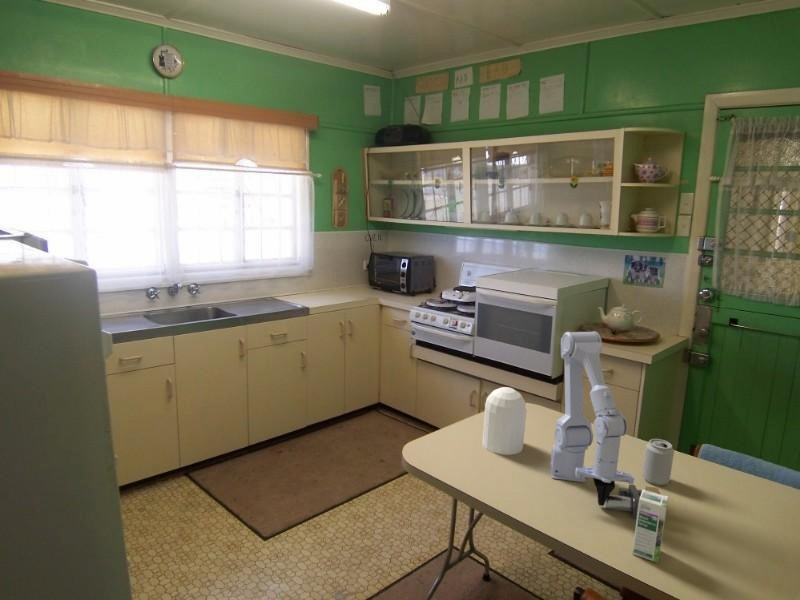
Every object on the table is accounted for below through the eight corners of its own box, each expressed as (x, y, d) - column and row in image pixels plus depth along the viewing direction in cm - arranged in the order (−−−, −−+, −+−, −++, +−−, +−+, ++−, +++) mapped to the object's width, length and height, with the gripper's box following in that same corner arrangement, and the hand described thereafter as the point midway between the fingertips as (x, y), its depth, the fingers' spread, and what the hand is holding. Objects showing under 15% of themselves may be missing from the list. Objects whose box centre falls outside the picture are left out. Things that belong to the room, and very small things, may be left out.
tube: (607, 511, 145) (608, 498, 144) (604, 503, 148) (606, 491, 147) (655, 518, 142) (656, 505, 142) (651, 509, 146) (653, 497, 145)
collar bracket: (625, 517, 142) (628, 498, 141) (617, 497, 152) (620, 478, 151) (666, 523, 140) (669, 503, 139) (655, 502, 150) (658, 483, 149)
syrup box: (631, 554, 128) (638, 499, 125) (635, 541, 133) (642, 487, 130) (657, 563, 125) (666, 507, 122) (660, 549, 130) (668, 495, 127)
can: (672, 488, 157) (678, 450, 155) (644, 484, 159) (650, 447, 156) (665, 475, 164) (670, 438, 162) (639, 472, 166) (644, 435, 163)
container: (474, 445, 179) (478, 388, 175) (494, 432, 190) (498, 378, 185) (511, 459, 171) (516, 400, 167) (529, 444, 182) (535, 388, 177)
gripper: (579, 461, 141) (574, 508, 144) (638, 468, 138) (632, 515, 141) (576, 448, 148) (571, 493, 151) (632, 455, 145) (626, 501, 148)
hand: (600, 503), depth 146 cm, fingers closed
